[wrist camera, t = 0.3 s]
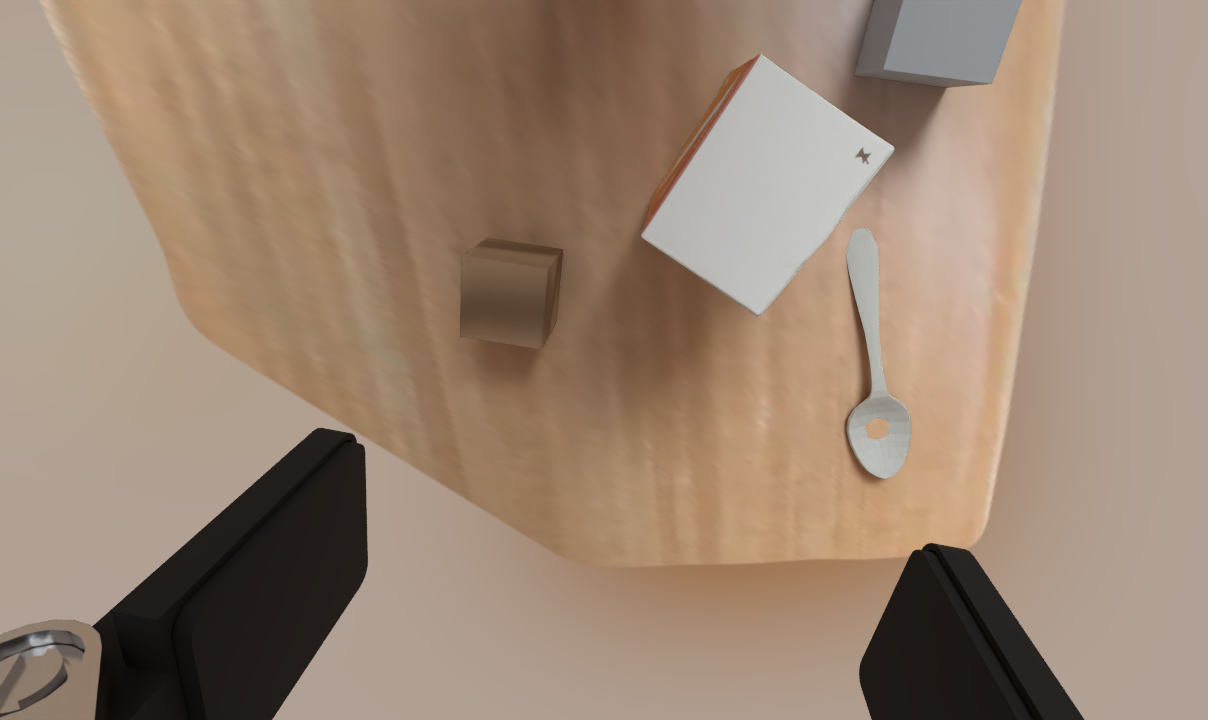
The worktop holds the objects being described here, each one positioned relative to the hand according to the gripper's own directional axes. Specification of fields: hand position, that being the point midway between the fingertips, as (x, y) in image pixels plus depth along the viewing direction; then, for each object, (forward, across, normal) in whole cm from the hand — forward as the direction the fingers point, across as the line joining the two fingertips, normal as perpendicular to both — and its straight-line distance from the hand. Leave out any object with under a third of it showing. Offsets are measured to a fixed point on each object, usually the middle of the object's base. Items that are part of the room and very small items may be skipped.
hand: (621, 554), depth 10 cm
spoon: (+30, -14, +4) cm, 33 cm away
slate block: (+29, -11, -13) cm, 34 cm away
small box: (+29, -4, -5) cm, 30 cm away
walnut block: (+29, +8, +5) cm, 31 cm away
